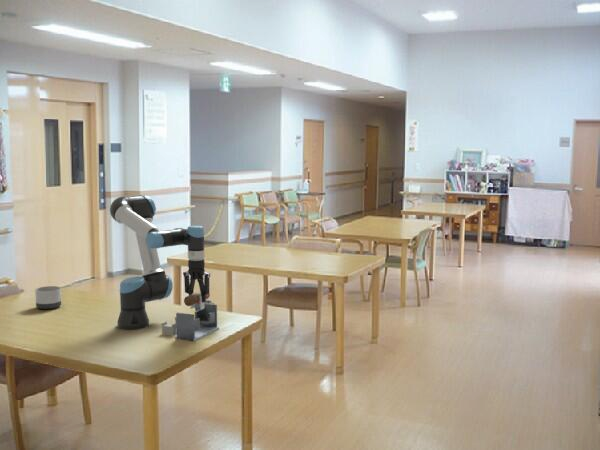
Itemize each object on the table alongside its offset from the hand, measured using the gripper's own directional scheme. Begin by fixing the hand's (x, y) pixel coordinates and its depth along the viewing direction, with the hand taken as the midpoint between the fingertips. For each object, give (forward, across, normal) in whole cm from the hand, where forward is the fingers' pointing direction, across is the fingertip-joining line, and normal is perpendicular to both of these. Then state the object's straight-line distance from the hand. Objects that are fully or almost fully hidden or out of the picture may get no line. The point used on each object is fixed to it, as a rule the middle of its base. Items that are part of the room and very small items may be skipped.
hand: (197, 308), depth 294 cm
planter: (+11, -100, +9) cm, 101 cm away
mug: (+12, -7, +18) cm, 23 cm away
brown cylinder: (-3, 0, 0) cm, 3 cm away
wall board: (+12, 0, 0) cm, 12 cm away
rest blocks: (+12, -12, 0) cm, 17 cm away
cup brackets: (+12, 0, 0) cm, 12 cm away
